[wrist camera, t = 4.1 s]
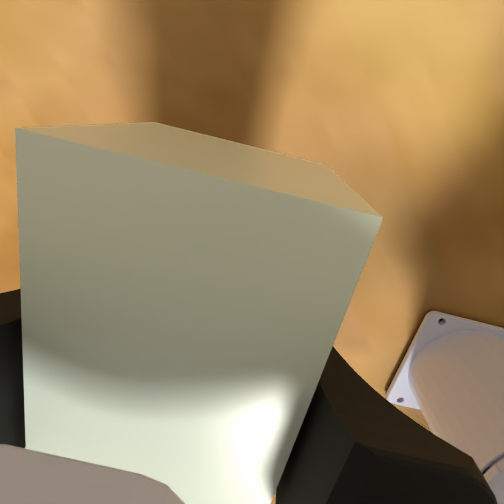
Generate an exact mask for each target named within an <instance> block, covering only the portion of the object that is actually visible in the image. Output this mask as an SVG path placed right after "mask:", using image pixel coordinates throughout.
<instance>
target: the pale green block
mask: <svg viewBox="0 0 504 504" xmlns="http://www.w3.org/2000/svg"><path fill="white" fill-rule="evenodd" d="M15 136H16V167H17V197H18V228H19V258H20V289H21V319H22V349H23V380H24V410H25V441H26V449H29V450H34V451H38V452H43V453H48V454H52V455H57V456H61V457H66V458H70V459H75V460H80V461H84V462H89V463H93V464H98V465H102V466H107V467H112V468H116V469H121V470H125V471H130V472H134V473H139V474H142V475H145V476H147V477H150V478H152V479H154V480H157V481H159V482H162V483H164V484H167V485H168V486H169V487H170V488H171V489H172V490H173V491H174V492H175V493H176V494H177V495H178V496H179V497H180V498H181V499H182V500H183V501H184V503H185V504H271V501H272V499H273V496H274V494H275V491H276V489H277V486H278V483H279V481H280V478H281V476H282V473H283V471H284V468H285V466H286V463H287V461H288V458H289V456H290V453H291V450H292V448H293V445H294V443H295V440H296V438H297V435H298V433H299V430H300V428H301V425H302V423H303V420H304V417H305V415H306V412H307V410H308V407H309V405H310V402H311V400H312V397H313V395H314V392H315V390H316V387H317V384H318V382H319V379H320V377H321V374H322V372H323V369H324V367H325V364H326V362H327V359H328V357H329V354H330V351H331V349H332V346H333V344H334V341H335V339H336V336H337V334H338V331H339V329H340V326H341V324H342V321H343V318H344V316H345V313H346V311H347V308H348V306H349V303H350V301H351V298H352V296H353V293H354V291H355V288H356V285H357V283H358V280H359V278H360V275H361V273H362V270H363V268H364V265H365V263H366V260H367V258H368V255H369V252H370V250H371V247H372V245H373V242H374V240H375V237H376V235H377V232H378V230H379V227H380V225H381V222H382V219H383V217H382V216H381V215H380V214H379V213H378V212H377V211H375V210H374V209H373V208H372V207H371V206H370V205H369V204H368V203H367V202H366V201H365V200H364V199H363V198H362V197H360V196H359V195H358V194H357V193H356V192H355V191H354V190H353V189H352V188H351V187H350V186H349V185H348V184H347V183H346V182H344V181H343V180H342V179H341V178H340V177H339V176H338V175H337V174H336V173H335V172H334V171H333V170H332V169H331V168H330V167H328V166H327V165H326V164H322V163H318V162H314V161H310V160H306V159H302V158H298V157H294V156H290V155H286V154H282V153H278V152H274V151H270V150H266V149H262V148H258V147H254V146H250V145H246V144H242V143H238V142H234V141H230V140H226V139H222V138H218V137H213V136H209V135H205V134H201V133H197V132H193V131H189V130H185V129H181V128H177V127H173V126H169V125H165V124H161V123H157V122H137V123H114V124H91V125H67V126H44V127H21V128H15Z"/></svg>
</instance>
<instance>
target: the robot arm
mask: <svg viewBox="0 0 504 504" xmlns="http://www.w3.org/2000/svg"><path fill="white" fill-rule="evenodd" d="M441 318H443V320H442V321H441V322H438V320H439V319H441ZM400 397H401V398H400ZM398 398H400V399H398ZM386 399H387V400H386ZM386 399H385V398H384V397H382V396H381V395H380V394H379V393H378V392H376V391H375V390H374V389H373V388H372V387H371V386H370V385H369V384H368V383H367V382H365V381H364V380H363V379H362V378H361V377H360V376H359V375H358V374H357V373H356V372H355V371H354V370H353V369H352V368H351V367H350V366H349V364H348V363H347V362H346V361H345V360H344V359H343V358H342V357H341V355H340V354H339V353H338V352H337V351H336V349H335V348H334V347H333V346H332V349H331V351H330V354H329V357H328V359H327V362H326V364H325V367H324V369H323V372H322V374H321V377H320V379H319V382H318V384H317V387H316V390H315V392H314V395H313V397H312V400H311V402H310V405H309V407H308V410H307V412H306V415H305V417H304V420H303V423H302V425H301V428H300V430H299V433H298V435H297V438H296V440H295V443H294V445H293V448H292V450H291V453H290V456H289V458H288V461H287V463H286V466H285V468H284V471H283V473H282V476H281V478H280V481H279V483H278V486H277V489H276V504H504V328H502V327H498V326H494V325H490V324H486V323H482V322H478V321H474V320H470V319H466V318H462V317H458V316H454V315H450V314H446V313H442V312H438V311H430V312H428V313H427V314H426V315H425V317H424V319H423V321H422V323H421V325H420V327H419V329H418V331H417V333H416V335H415V337H414V339H413V341H412V343H411V345H410V347H409V349H408V351H407V353H406V355H405V357H404V359H403V361H402V363H401V365H400V367H399V369H398V371H397V373H396V375H395V377H394V379H393V381H392V383H391V385H390V387H389V389H388V391H387V393H386ZM391 403H393V404H397V405H401V406H405V407H409V408H414V409H418V410H421V411H422V413H423V415H424V417H425V419H426V421H427V423H428V425H429V427H430V429H431V431H432V433H431V432H430V431H428V430H427V429H425V428H424V427H422V426H421V425H419V424H418V423H417V422H415V421H414V420H412V419H411V418H409V417H408V416H407V415H405V414H404V413H403V412H401V411H400V410H398V409H397V408H396V407H395V406H393V405H392V404H391ZM25 446H26V441H25V410H24V380H23V349H22V319H21V289H18V290H14V291H9V292H5V293H0V504H185V503H184V501H183V500H182V499H181V498H180V497H179V496H178V495H177V494H176V493H175V492H174V491H173V490H172V489H171V488H170V487H169V486H168V485H167V484H164V483H162V482H159V481H157V480H154V479H152V478H150V477H147V476H145V475H142V474H139V473H134V472H130V471H125V470H121V469H116V468H112V467H107V466H102V465H98V464H93V463H89V462H84V461H80V460H75V459H70V458H66V457H61V456H57V455H52V454H48V453H43V452H38V451H34V450H29V449H25Z"/></svg>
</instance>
